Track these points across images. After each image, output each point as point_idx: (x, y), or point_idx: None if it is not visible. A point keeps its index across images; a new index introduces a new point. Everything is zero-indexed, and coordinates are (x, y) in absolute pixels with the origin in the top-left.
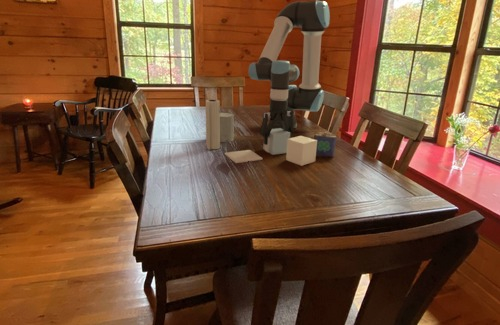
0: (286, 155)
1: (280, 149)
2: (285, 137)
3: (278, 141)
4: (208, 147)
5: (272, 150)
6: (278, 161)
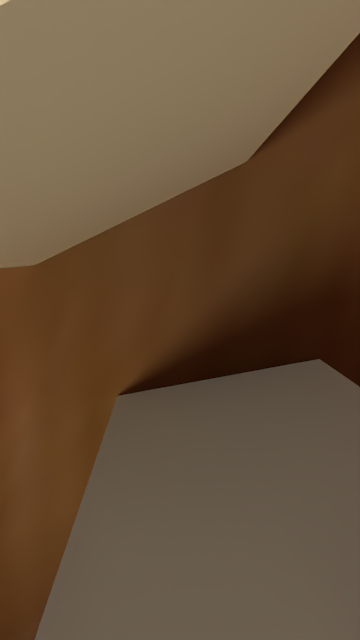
0: (265, 137)
1: (237, 398)
2: (186, 566)
3: (333, 470)
4: None
5: (347, 381)
6: (352, 132)
